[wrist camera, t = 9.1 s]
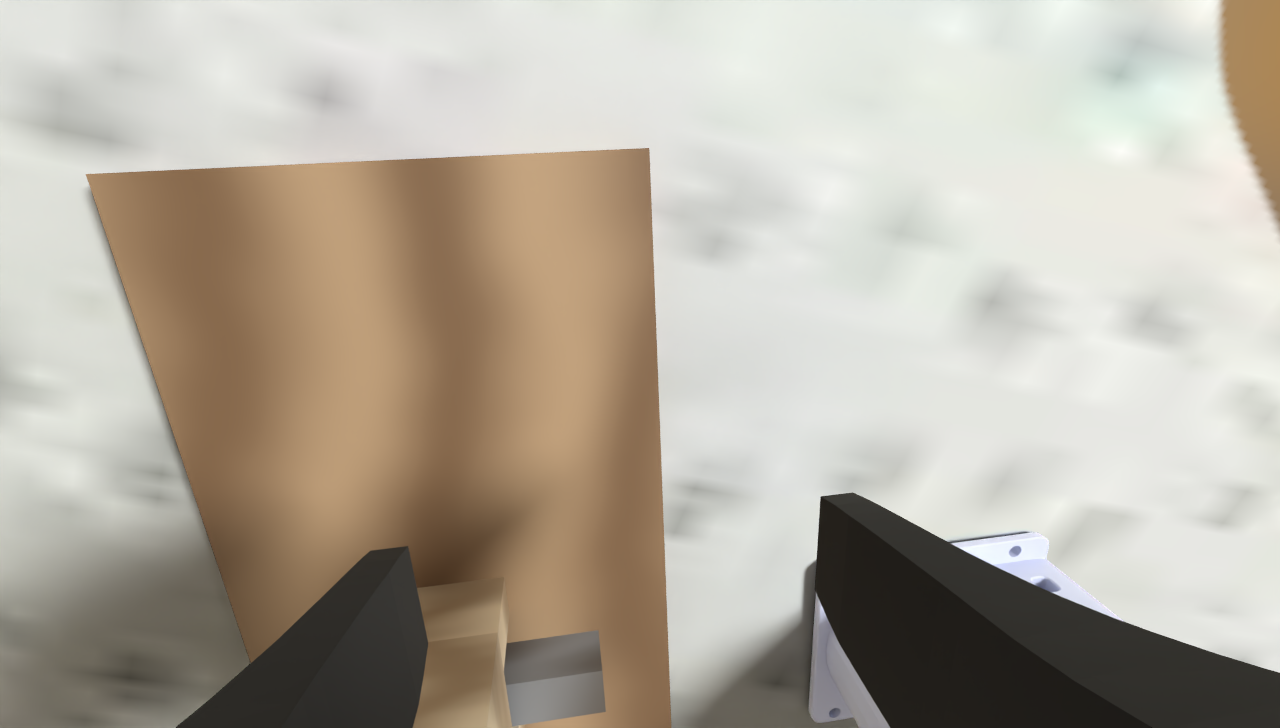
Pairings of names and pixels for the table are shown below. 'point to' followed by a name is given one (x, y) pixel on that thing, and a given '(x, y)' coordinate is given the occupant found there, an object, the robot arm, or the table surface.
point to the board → (422, 394)
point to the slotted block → (465, 656)
